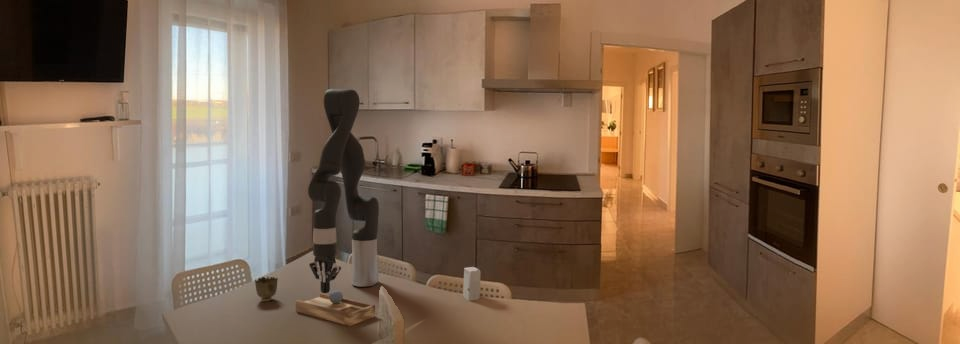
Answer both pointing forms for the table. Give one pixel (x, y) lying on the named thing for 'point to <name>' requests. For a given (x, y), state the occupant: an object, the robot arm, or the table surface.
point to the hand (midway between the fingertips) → (325, 292)
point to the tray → (336, 309)
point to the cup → (266, 288)
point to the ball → (335, 296)
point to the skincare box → (471, 283)
